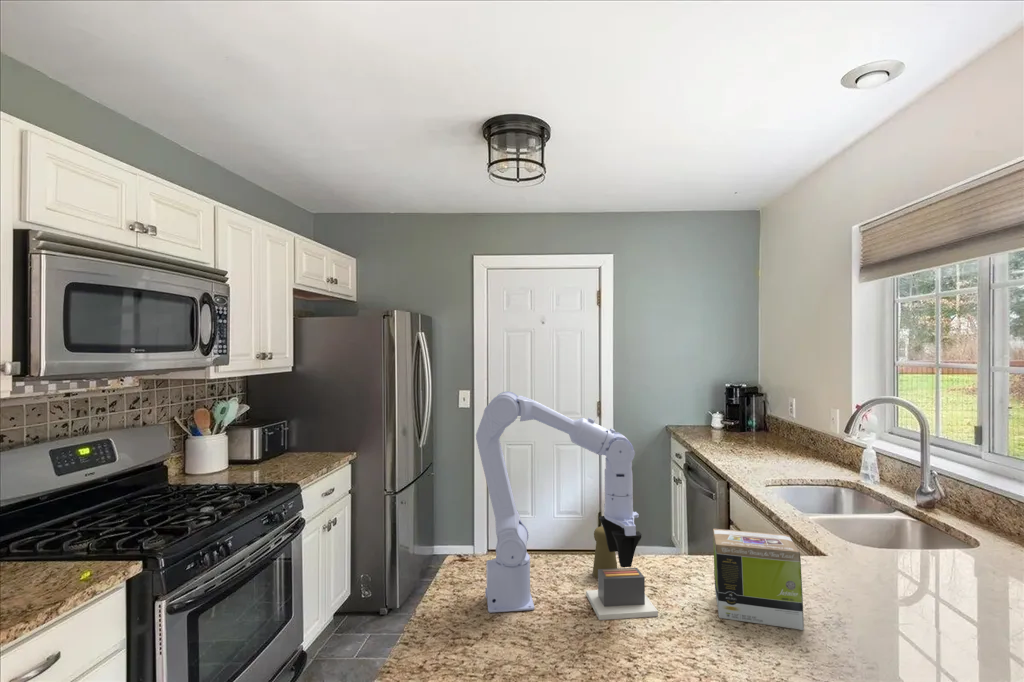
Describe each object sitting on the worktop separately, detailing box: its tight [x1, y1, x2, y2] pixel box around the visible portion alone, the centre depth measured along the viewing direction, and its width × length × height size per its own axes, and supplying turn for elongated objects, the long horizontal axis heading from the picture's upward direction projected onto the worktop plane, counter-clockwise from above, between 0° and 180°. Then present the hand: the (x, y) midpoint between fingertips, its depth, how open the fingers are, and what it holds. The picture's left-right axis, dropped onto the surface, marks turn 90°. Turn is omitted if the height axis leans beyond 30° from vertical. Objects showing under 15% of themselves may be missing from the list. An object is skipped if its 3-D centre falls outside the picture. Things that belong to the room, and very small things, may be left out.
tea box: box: [712, 528, 805, 631], centre depth 98 cm, size 15×10×15 cm, turn 71°
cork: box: [592, 525, 619, 580], centre depth 116 cm, size 6×6×11 cm
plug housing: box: [597, 567, 646, 606], centre depth 101 cm, size 8×4×6 cm, turn 95°
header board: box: [585, 589, 659, 621], centre depth 101 cm, size 12×10×4 cm
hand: (619, 558), depth 102 cm, fingers open, 7 cm apart
